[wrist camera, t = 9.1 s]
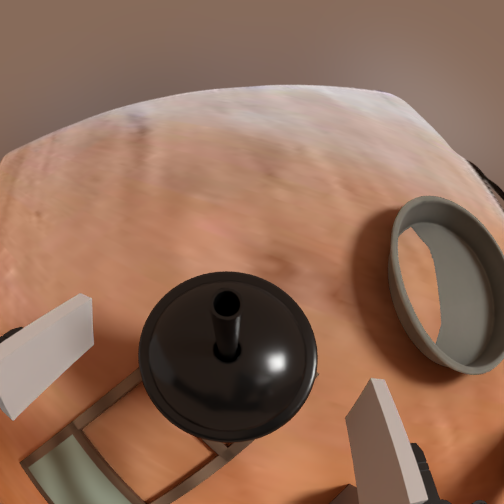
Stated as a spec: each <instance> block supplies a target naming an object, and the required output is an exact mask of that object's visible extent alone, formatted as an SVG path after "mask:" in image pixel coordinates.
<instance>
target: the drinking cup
mask: <svg viewBox="0 0 504 504" xmlns="http://www.w3.org/2000/svg"><path fill="white" fill-rule="evenodd" d="M317 360H318V355H317V346H316V340H315V337H314V333H313V330H312V328H311V325H310V323H309V321H308V319H307V317H306V316H305V314H304V312H303V311H302V309H301V308H300V307H299V306H298V304H297V303H296V302H295V301H294V300H293V299H292V298H291V297H290V296H289V295H288V294H287V293H285V292H284V291H283V290H281V289H280V288H279V287H277V286H276V285H274V284H272V283H270V282H268V281H266V280H264V279H262V278H259V277H256V276H253V275H250V274H245V273H240V272H214V273H207V274H203V275H200V276H197V277H194V278H191V279H189V280H187V281H185V282H183V283H181V284H179V285H178V286H176V287H175V288H173V289H172V290H171V291H169V292H168V293H167V294H166V295H165V296H164V297H163V298H162V299H161V300H160V301H159V302H158V303H157V304H156V306H155V307H154V308H153V310H152V311H151V313H150V315H149V316H148V318H147V320H146V322H145V325H144V327H143V330H142V333H141V337H140V342H139V351H138V361H139V369H140V374H141V378H142V381H143V384H144V387H145V389H146V391H147V394H148V396H149V397H150V399H151V401H152V402H153V404H154V405H155V406H156V408H157V409H158V410H159V411H160V412H161V413H162V415H163V416H164V417H165V418H167V419H168V420H169V421H170V422H171V423H172V424H174V425H175V426H177V427H178V428H179V429H181V430H183V431H185V432H187V433H189V434H191V435H193V436H195V437H198V438H201V439H204V440H209V441H213V442H221V443H237V442H245V441H250V440H254V439H258V438H261V437H263V436H266V435H268V434H270V433H272V432H274V431H276V430H277V429H279V428H280V427H282V426H283V425H285V424H286V423H287V422H288V421H289V420H291V419H292V418H293V417H294V416H295V414H296V413H297V412H298V411H299V410H300V409H301V407H302V406H303V404H304V403H305V401H306V400H307V398H308V396H309V394H310V392H311V389H312V387H313V384H314V381H315V377H316V372H317Z"/></svg>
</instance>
